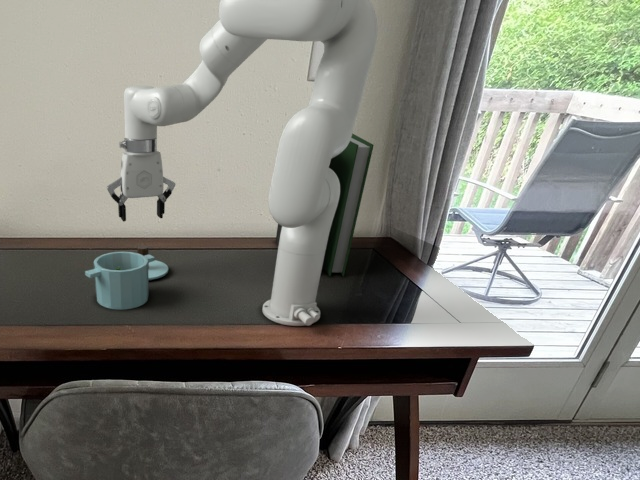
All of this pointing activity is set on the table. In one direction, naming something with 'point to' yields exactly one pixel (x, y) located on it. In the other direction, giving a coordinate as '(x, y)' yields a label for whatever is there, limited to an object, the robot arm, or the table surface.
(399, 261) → the table surface
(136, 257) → the pot
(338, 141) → the robot arm
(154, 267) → the pot lid
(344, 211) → the green and black books
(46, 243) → the table surface
